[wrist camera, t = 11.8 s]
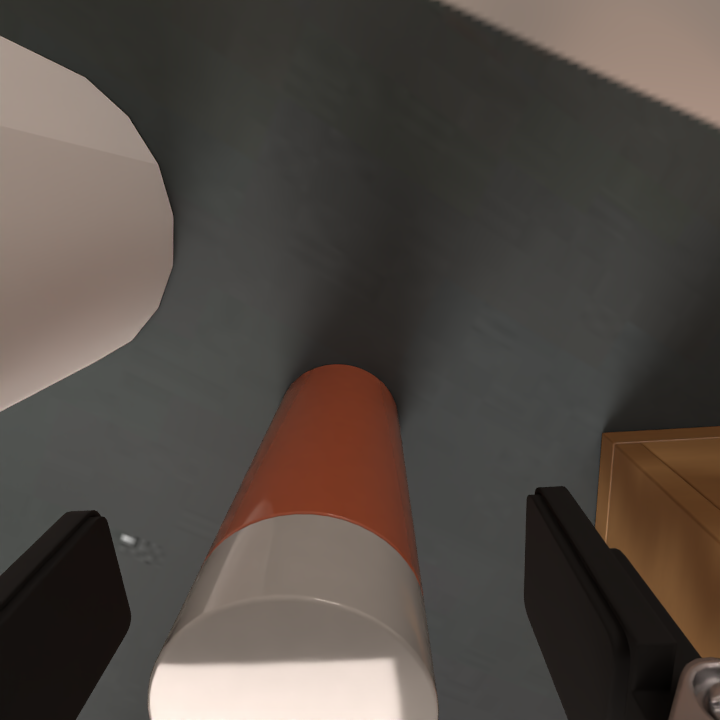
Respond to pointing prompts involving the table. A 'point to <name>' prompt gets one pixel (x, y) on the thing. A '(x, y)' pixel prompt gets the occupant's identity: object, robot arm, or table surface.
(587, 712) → the robot arm
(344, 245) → the table surface
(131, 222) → the mug
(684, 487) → the cabinet
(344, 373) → the pill bottle
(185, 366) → the table surface
